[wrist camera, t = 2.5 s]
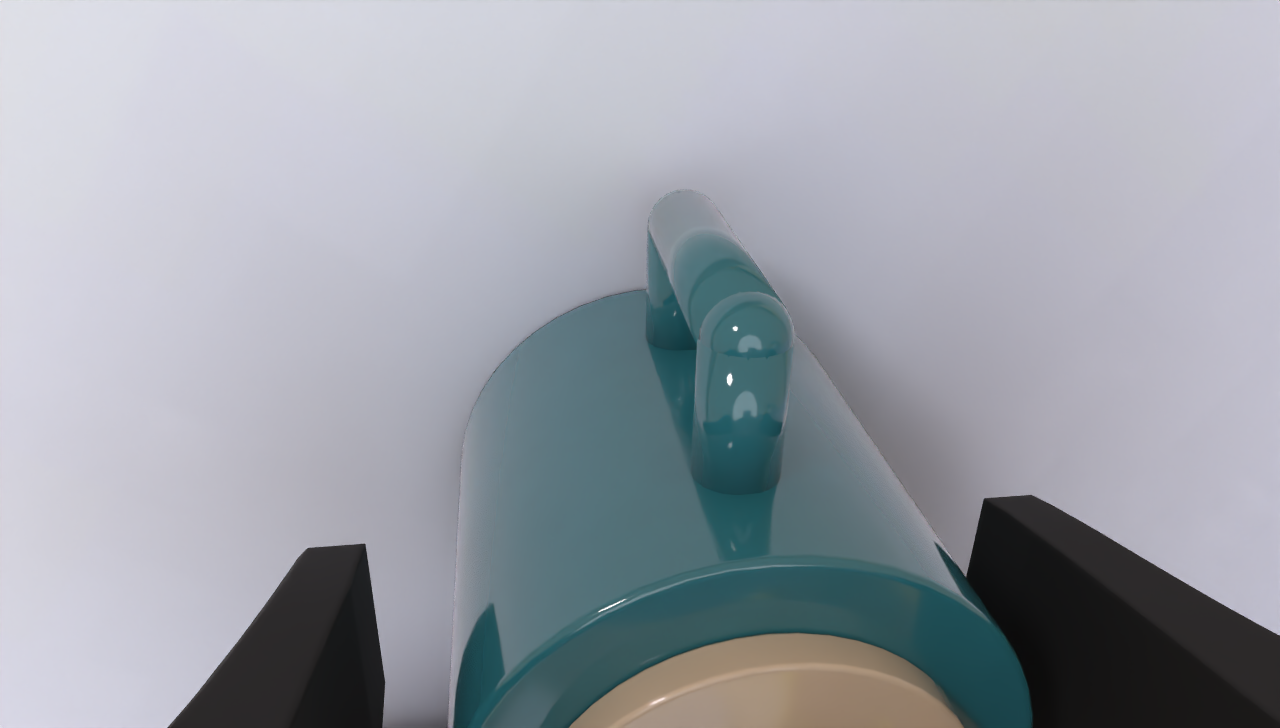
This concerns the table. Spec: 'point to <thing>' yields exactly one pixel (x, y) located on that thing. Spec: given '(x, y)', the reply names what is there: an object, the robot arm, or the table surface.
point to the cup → (701, 528)
